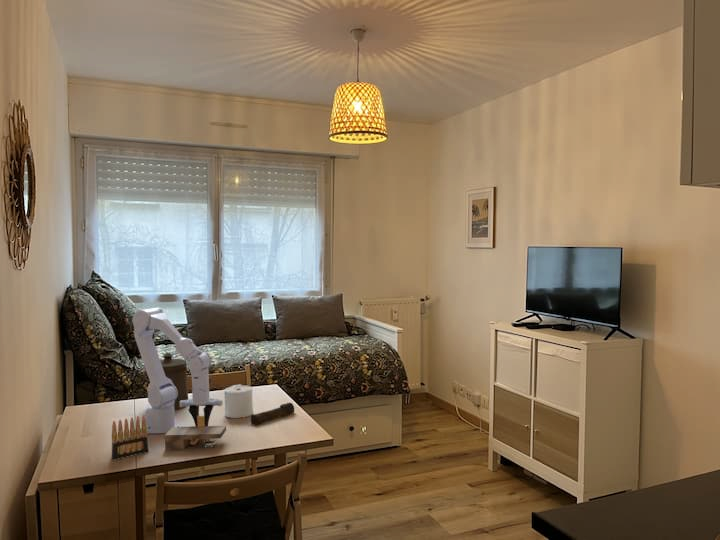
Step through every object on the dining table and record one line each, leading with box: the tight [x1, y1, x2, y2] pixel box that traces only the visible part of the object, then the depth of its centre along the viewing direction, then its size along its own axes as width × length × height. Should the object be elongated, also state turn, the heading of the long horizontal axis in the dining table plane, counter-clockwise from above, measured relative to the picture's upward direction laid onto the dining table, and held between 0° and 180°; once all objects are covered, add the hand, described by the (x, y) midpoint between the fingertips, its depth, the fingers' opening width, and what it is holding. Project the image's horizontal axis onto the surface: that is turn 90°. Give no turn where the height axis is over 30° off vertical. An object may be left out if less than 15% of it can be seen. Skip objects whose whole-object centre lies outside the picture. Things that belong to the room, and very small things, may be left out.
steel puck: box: [203, 439, 217, 448], centre depth 183 cm, size 4×4×2 cm
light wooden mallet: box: [189, 413, 205, 446], centre depth 189 cm, size 3×13×6 cm, turn 1°
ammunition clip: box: [111, 414, 149, 461], centre depth 175 cm, size 11×2×12 cm, turn 125°
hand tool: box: [250, 402, 295, 426], centre depth 209 cm, size 19×4×5 cm, turn 132°
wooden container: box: [160, 352, 189, 411], centre depth 228 cm, size 15×15×22 cm
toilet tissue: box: [223, 383, 254, 419], centre depth 216 cm, size 11×12×10 cm
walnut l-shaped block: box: [164, 425, 227, 451], centre depth 183 cm, size 18×8×5 cm, turn 91°
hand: (202, 426), depth 194 cm, fingers closed on light wooden mallet, 3 cm apart
